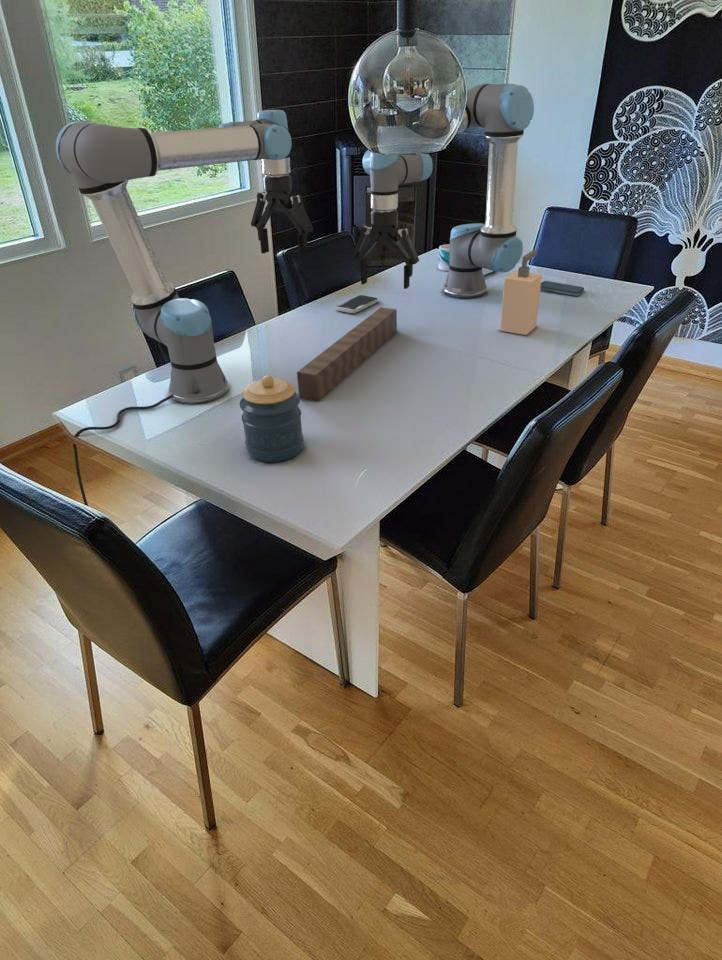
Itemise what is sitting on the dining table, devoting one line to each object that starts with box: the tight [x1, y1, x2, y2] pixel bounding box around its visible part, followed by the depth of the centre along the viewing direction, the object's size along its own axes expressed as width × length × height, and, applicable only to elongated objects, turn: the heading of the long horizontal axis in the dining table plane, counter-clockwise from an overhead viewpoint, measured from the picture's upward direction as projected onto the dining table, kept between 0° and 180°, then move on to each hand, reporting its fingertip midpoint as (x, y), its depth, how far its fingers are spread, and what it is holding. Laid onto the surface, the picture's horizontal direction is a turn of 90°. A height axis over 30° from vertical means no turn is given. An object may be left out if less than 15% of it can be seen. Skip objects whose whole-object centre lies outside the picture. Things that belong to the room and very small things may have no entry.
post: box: [296, 306, 398, 402], centre depth 189 cm, size 52×5×7 cm, turn 155°
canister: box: [239, 374, 305, 463], centre depth 146 cm, size 13×13×18 cm
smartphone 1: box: [335, 294, 378, 314], centre depth 231 cm, size 8×1×15 cm
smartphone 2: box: [540, 280, 585, 297], centre depth 238 cm, size 8×2×15 cm
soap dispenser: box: [499, 249, 543, 336], centre depth 204 cm, size 13×9×22 cm
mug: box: [438, 243, 450, 272], centre depth 266 cm, size 8×12×8 cm
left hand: (283, 255), depth 193 cm, fingers open, 13 cm apart
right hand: (385, 285), depth 199 cm, fingers open, 13 cm apart
